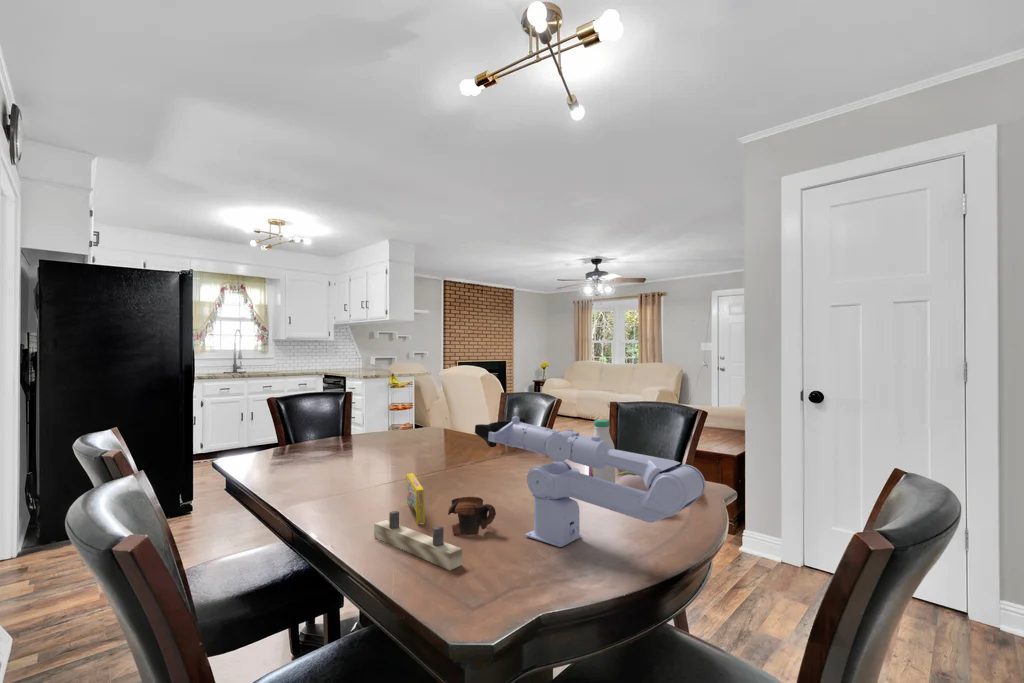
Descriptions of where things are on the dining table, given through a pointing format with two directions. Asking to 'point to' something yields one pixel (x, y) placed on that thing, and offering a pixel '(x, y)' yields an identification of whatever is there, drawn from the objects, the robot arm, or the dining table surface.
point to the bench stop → (419, 542)
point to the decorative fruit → (632, 481)
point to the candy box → (415, 498)
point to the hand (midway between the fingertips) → (487, 427)
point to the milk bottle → (603, 432)
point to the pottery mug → (471, 515)
